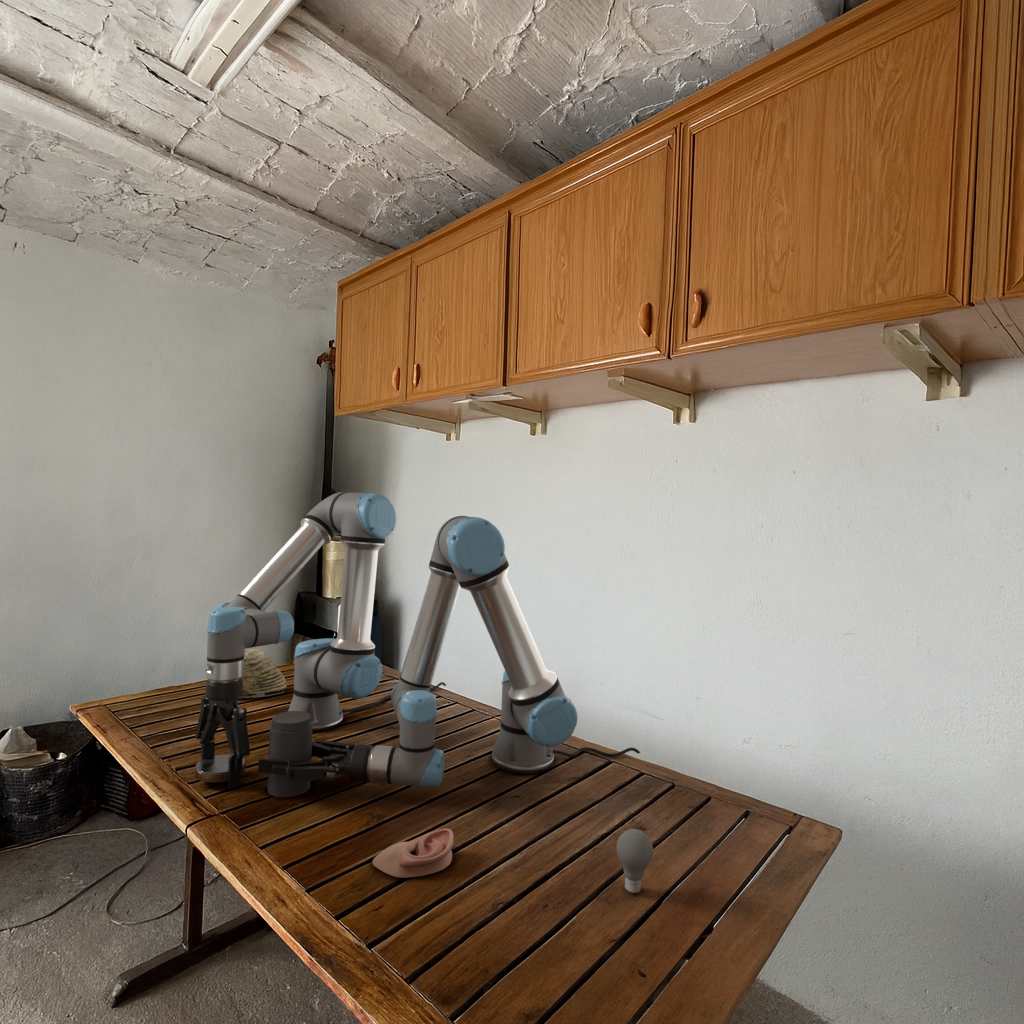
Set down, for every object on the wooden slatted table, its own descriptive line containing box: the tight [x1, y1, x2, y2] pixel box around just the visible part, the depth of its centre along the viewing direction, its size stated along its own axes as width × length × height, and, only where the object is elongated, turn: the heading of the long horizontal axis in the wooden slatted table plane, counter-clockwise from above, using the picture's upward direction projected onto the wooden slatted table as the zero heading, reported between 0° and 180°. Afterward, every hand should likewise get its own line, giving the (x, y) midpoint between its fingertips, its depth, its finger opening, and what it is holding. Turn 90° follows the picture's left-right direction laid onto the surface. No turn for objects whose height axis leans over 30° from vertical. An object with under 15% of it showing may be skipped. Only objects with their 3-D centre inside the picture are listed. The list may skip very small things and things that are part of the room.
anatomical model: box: [372, 828, 455, 879], centre depth 112 cm, size 13×4×12 cm
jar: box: [266, 711, 313, 798], centre depth 137 cm, size 9×9×16 cm
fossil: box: [238, 647, 288, 699], centre depth 198 cm, size 9×18×15 cm, turn 132°
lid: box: [194, 754, 246, 783], centre depth 139 cm, size 10×10×2 cm
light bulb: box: [615, 828, 654, 894], centre depth 106 cm, size 6×6×10 cm
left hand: (220, 779), depth 139 cm, fingers closed on lid, 10 cm apart
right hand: (269, 756), depth 137 cm, fingers closed on jar, 9 cm apart
